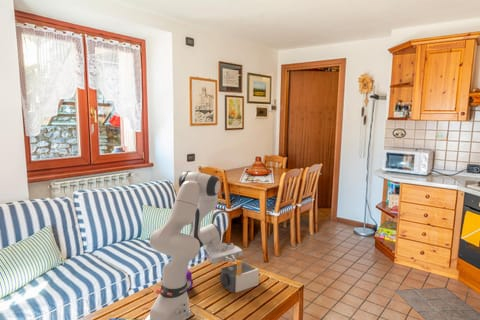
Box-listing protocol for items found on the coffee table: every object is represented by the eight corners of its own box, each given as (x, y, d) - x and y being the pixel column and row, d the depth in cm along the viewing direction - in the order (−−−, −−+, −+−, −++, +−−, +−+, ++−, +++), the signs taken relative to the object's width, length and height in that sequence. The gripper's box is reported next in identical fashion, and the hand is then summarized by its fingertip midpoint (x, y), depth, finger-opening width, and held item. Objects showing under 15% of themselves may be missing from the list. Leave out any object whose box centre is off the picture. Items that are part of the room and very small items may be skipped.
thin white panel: (234, 291, 174) (235, 261, 171) (257, 283, 183) (258, 254, 180) (236, 292, 172) (237, 262, 170) (259, 284, 181) (260, 255, 179)
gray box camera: (217, 284, 180) (218, 268, 179) (244, 275, 191) (244, 260, 189) (228, 294, 171) (229, 276, 170) (255, 284, 182) (256, 267, 180)
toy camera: (183, 297, 167) (183, 279, 166) (165, 288, 175) (165, 270, 174) (198, 288, 176) (198, 271, 174) (180, 280, 184) (181, 263, 182)
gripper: (204, 250, 180) (217, 259, 169) (234, 242, 192) (248, 250, 181) (203, 260, 181) (216, 271, 170) (234, 252, 193) (248, 261, 182)
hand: (233, 260), depth 176 cm, fingers closed
